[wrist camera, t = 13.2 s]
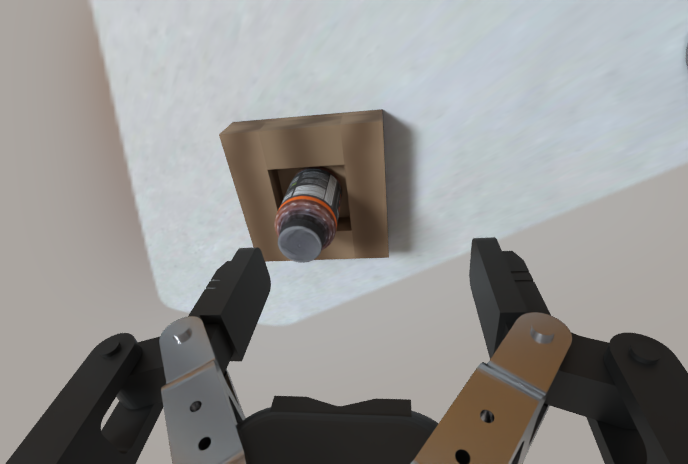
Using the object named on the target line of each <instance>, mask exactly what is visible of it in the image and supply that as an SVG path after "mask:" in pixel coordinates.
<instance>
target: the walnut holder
mask: <svg viewBox="0 0 688 464" xmlns="http://www.w3.org/2000/svg"><path fill="white" fill-rule="evenodd" d="M219 136H220V139H221V143H222V146H223V149H224V152H225V156H226V159H227V162H228V165H229V169H230V172H231V175H232V178H233V182H234V185H235V188H236V191H237V195H238V198H239V201H240V204H241V208H242V211H243V214H244V217H245V221H246V224H247V227H248V230H249V234H250V237H251V240H252V243H253V247H254V248H256V247H258V248H260V249H261V251H262V254H263V257H264V260H265V261H293V260H290V259H288V258H287V257H286V256H284V255H283V254H282V252H281V251H280V249H279V246H278V236H277V234H276V231H275V218H276V214H277V212H278V210H279V207H280V205H281V203H282V201H283V199H284V196H285V194H286V192H287V190H288V188H289V186H290V183H291V181H292V179H293V178H294V176H295V175H296V174H297V173H298V172H299V171H300V170H302V169H304V168H306V167H315V166H319V167H323V168H326V169H328V170H330V171H331V172H333V173H334V174H335V175H336V176H337V177H338V179H339V181H340V183H341V186H342V200H341V205H340V210H339V217H338V222H337V228H336V233H335V237H334V239H333V241H332V242H331V244H330V245H329V246H328V247H327V248H325V249H323V250H321V253H320V255H319V256H318V257H317V258H315V259H314V260H325V259H355V258H386V257H389V250H388V226H387V203H386V181H385V158H384V136H383V113H382V110H370V111H359V112H347V113H335V114H324V115H312V116H300V117H289V118H277V119H265V120H253V121H242V122H233V123H232V124H230V125H229V126H228V127H227V128H226V129H225V130H224V131H223V132H221V133H220V134H219Z"/></svg>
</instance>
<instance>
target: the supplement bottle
mask: <svg viewBox="0 0 688 464" xmlns="http://www.w3.org/2000/svg"><path fill="white" fill-rule="evenodd" d="M341 200H342V186H341V183H340V181H339V179H338V177H337V176H336V175H335V174H334V173H333V172H331V171H330V170H328V169H326V168H323V167H319V166H315V167H306V168H304V169H302V170H300V171H299V172H298V173H297V174H296V175H295V176H294V178H293V179H292V181H291V183H290V186H289V188H288V190H287V192H286V194H285V196H284V199H283V201H282V203H281V205H280V207H279V210H278V212H277V214H276V218H275V231H276V234H277V236H278V246H279V249H280V251H281V252H282V254H283V255H284V256H286V257H287V258H288V259H290V260H293V261H296V262H310V261H312V260H314V259H315V258H317V257H318V256H319V255H320V253H321V250H323V249H325V248H327V247H328V246H329V245H330V244H331V242H332V241H333V239H334V237H335V233H336V228H337V222H338V217H339V210H340V205H341Z"/></svg>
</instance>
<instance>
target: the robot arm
mask: <svg viewBox="0 0 688 464" xmlns="http://www.w3.org/2000/svg"><path fill="white" fill-rule="evenodd" d="M686 63H687V68H688V45H687V49H686ZM469 276H470V286H471V290H472V294H473V298H474V301H475V305H476V308H477V312H478V316H479V320H480V323H481V327H482V331H483V334H484V338H485V341H486V345H487V349H488V353H489V356H490V361H489V362H488V363H487V364H486V363H484V362H483V363H481V364H480V365H479V366H478V367H477V368H476V370H475V371H474V373H473V374H472V376H471V377H470V379H469V380H468V382H467V383H466V384H465V386H464V387H463V389H462V390H461V392H460V393H459V395H458V396H457V398H456V399H455V400H454V402H453V404H452V405H451V406H450V408H449V409H448V411H447V412H446V414H445V415H444V417H443V418H442V420H441V421H440V422H439V424H438V423H437V422H436V421H434V420H432V419H431V418H428V417H427V416H425V415H422V414H420V413H417V412H414V411H411V400H403V399H402V400H401V399H372V400H368V401H363V402H359V403H355V404H350V405H346V406H334V405H331V404H328V403H325V402H321V401H318V400H315V399H312V398H309V397H293V396H274V399H273V402H272V406H271V407H270V408H266V409H264V410H261V411H258V412H256V413H254V414H252V415H251V416H249V417H247V418H245V416H244V414H243V411H242V408H241V406H240V403H239V400H238V397H237V394H236V392H235V389H234V386H233V384H232V381H231V378H230V375H229V373H228V371H227V366H228V364H229V362H230V361H242V359H243V357H244V355H245V352H246V349H247V347H248V345H249V342H250V340H251V337H252V335H253V332H254V330H255V327H256V324H257V322H258V320H259V317H260V315H261V312H262V310H263V307H264V305H265V302H266V300H267V297H268V295H269V292H270V287H271V281H270V276H269V273H268V270H267V267H266V263H265V260H264V257H263V254H262V251H261V249H260V248H258V247H256V248H240V249H238V251H237V252H236V254H235V256H234V257H233V259H232V261H227V262H226V263H225V264H223V265H222V266H221V267H220V268H219V269H218V270H217V271H216V272H215V274H214V276H213V277H212V279H211V281H210V282H209V284H208V285H207V287H206V289H205V290H204V292H203V293H202V295H201V296H200V298H199V300H198V301H197V303H196V304H195V306H194V308H193V309H192V311H191V313H190V314H189V316H188V317H184V318H181V319H178V320H176V321H174V322H173V323H171V325H169V326H168V327H167V328H166V329H165V330H164V331H163V332H162V334H161V336H160V337H157V338H153V339H149V340H145V341H141V342H137V341H136V339H135V338H134V336H132V335H131V334H129V333H120V334H117V335H114V336H111V337H110V338H107V339H105V340H104V341H102V342H101V343H100V344H99V345H97V346H96V347H95V348H94V349H93V351H92V352H91V353H90V354H89V356H88V357H87V358H86V360H85V361H84V362H83V363H82V365H81V366H80V367H79V369H78V370H77V371H76V373H75V374H74V375H73V377H72V378H71V379H70V380H69V382H68V383H67V384H66V386H65V387H64V388H63V389H62V391H61V392H60V393H59V395H58V396H57V397H56V399H55V400H54V401H53V402H52V404H51V405H50V406H49V408H48V409H47V410H46V412H45V413H44V414H43V415H42V417H41V418H40V420H39V421H38V422H37V423H36V425H35V426H34V427H33V428H32V430H31V431H30V432H29V434H28V435H27V436H26V438H25V439H24V440H23V442H22V443H21V444H20V445H19V447H18V448H17V449H16V451H15V452H14V453H13V455H12V456H11V457H10V458H9V460H8V461H7V462H6V464H136V462H137V460H138V458H139V455H140V454H141V451H142V449H143V447H144V445H145V443H146V441H147V439H148V437H149V435H150V433H151V431H152V429H153V427H154V425H155V423H156V421H157V419H158V417H159V415H160V413H161V411H162V409H163V407H164V413H165V419H166V426H167V431H168V438H169V445H170V451H171V457H172V463H173V464H523V462H524V459H525V457H526V455H527V453H528V450H529V448H530V446H531V444H532V442H533V440H534V438H535V436H536V434H537V431H538V429H539V427H540V425H541V423H542V421H543V419H544V417H545V415H546V412H547V410H548V408H549V406H554V407H557V408H560V409H563V410H566V411H569V412H573V413H576V414H579V415H582V416H585V417H587V420H588V422H589V425H590V427H591V430H592V432H593V435H594V437H595V440H596V443H597V445H598V448H599V450H600V453H601V455H602V458H603V460H604V463H605V464H688V373H687V371H686V370H685V368H684V367H683V366H682V364H681V363H680V361H679V360H678V358H677V357H676V356H675V354H674V353H673V352H672V351H671V350H670V349H669V348H667V347H666V346H665V345H663V344H662V343H660V342H659V341H657V340H655V339H653V338H650V337H647V336H644V335H641V334H636V333H621V334H618V335H615V336H614V337H613V338H612V339H611V340H610V343H607V342H603V341H599V340H594V339H590V338H586V337H582V336H578V335H576V334H573V333H571V332H570V330H569V329H568V327H567V326H566V325H565V324H564V323H563V322H561V321H560V320H559V319H557V318H555V317H553V316H551V314H550V312H549V311H548V309H547V306H546V304H545V302H544V300H543V298H542V296H541V294H540V292H539V291H538V288H537V286H536V284H535V282H533V278H532V276H531V274H530V273H529V270H528V268H527V266H526V264H525V262H524V260H522V258H520V257H519V256H518V255H517V254H515V253H514V252H513V251H502V250H501V248H500V246H499V244H498V241H497V239H496V238H495V237H493V238H473V240H472V247H471V260H470V274H469ZM115 397H117V398H118V399H119V402H118V404H117V406H116V407H115V409H114V411H113V412H112V414H111V416H110V417H109V419H108V421H107V422H106V424H105V426H104V427H103V429H102V431H101V422H102V419H103V417H104V415H105V414H106V412H107V410H108V409H109V407H110V406H111V404H112V402H113V401H114V399H115Z"/></svg>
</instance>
